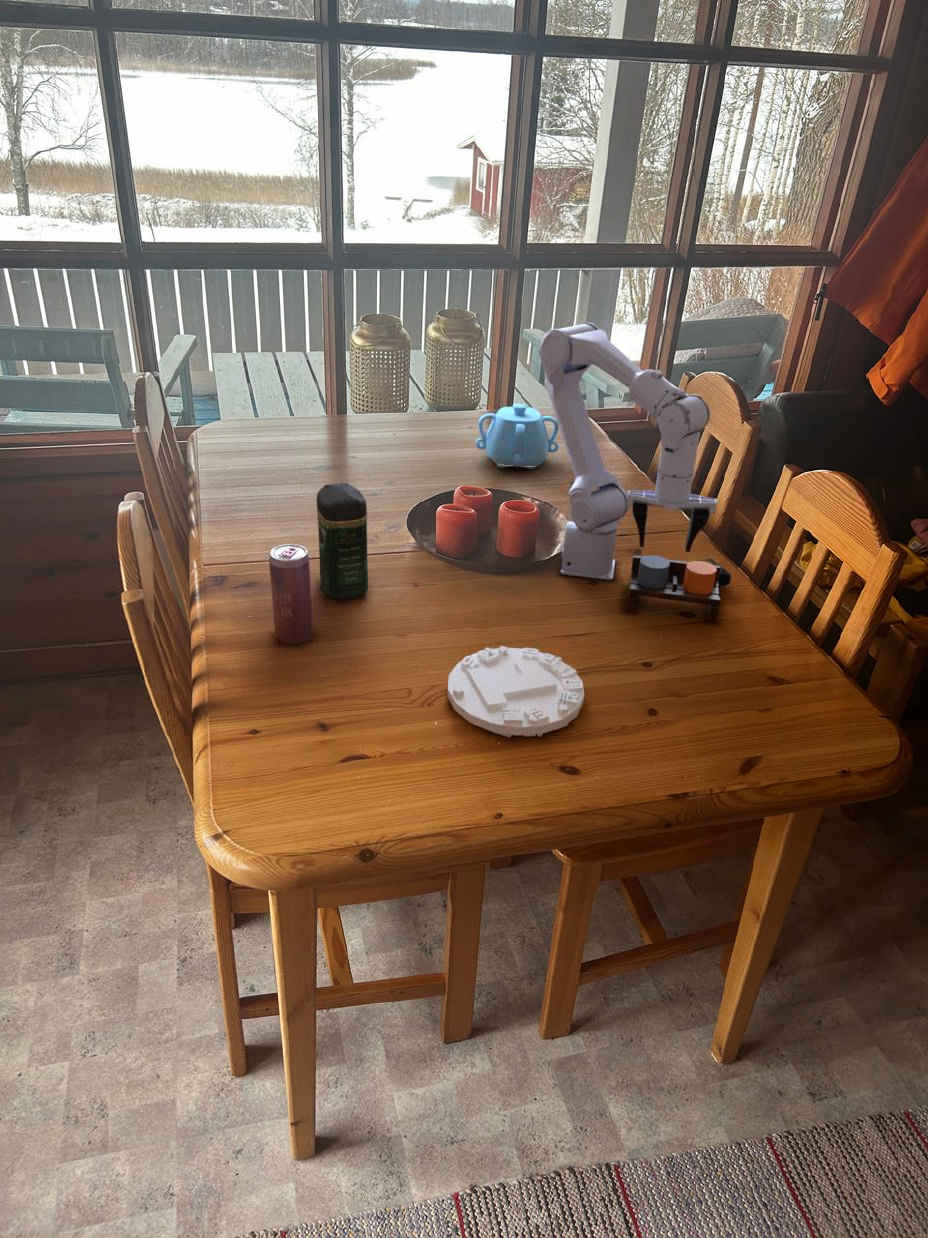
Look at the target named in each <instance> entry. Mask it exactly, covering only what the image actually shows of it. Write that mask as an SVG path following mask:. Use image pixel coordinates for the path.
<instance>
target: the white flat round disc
mask: <svg viewBox="0 0 928 1238" xmlns="http://www.w3.org/2000/svg"><path fill="white" fill-rule="evenodd" d="M447 680H448V683H447V699H448V700H449V702H450V705H451V706H452V708H453V710H454V711H455V712H456V713H457V714H458V715H460V716H461V717H462V718H464V719H465V720H466V721H468V723H470V724H472V725H475V726H477V727H480V728H482V729H484V730H487V731H489V732H492V733H493V734H496V735H501V736H503V737H506V738H508V739H509V738H511V737H512V736H523V737H536V736H537V737H543V734H546V733H549V732H552V731H556V730H559V729H561V728H564V727H567V726H569V723H570V722H571V721H573V720H574V719H576V718H577V717H578V715H579V713H580V711H581V709H582V707H583V705H584V701H585V690H584V683H583V680H582V679H581V678H580V676H579V675H578V671H577V670H576V669H574V668H573V667H571V666H570V665H569V664H566V663H565V661H564V662H563V661H562V657H559V656H557V657H556V655H553V654H551V653H548V652H546V653H544V652H542V651H540V650H539V649H537V648H533V647H523V648H518V647H507V646H504V645H500V646H499V647H498V648H493V647H491V648H490V647H488V646H487V647H484V649H481V650H479V651H477V652H476V653H472V654H471V655H466V656H465V657H463V659H461V660H460V661H458V662H457V663H456V665H455V666H454V667H453V668H452V670H451V671H450V673H449V674H448V679H447Z"/></svg>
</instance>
